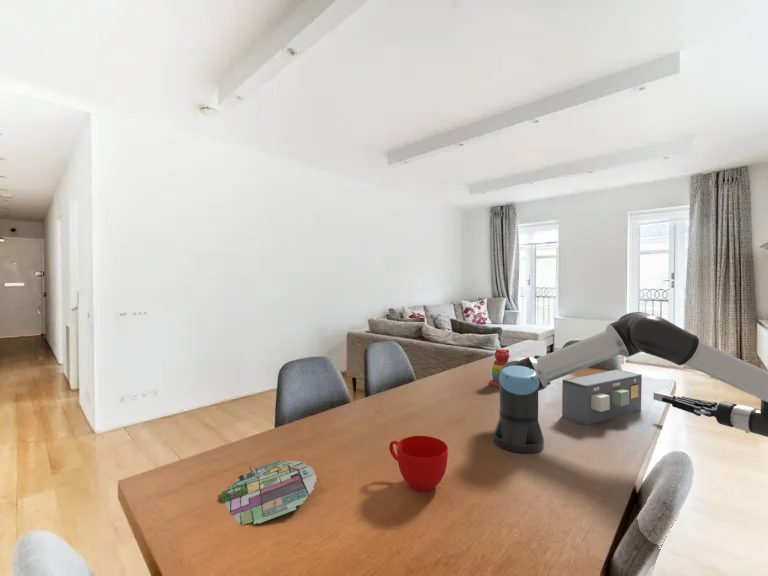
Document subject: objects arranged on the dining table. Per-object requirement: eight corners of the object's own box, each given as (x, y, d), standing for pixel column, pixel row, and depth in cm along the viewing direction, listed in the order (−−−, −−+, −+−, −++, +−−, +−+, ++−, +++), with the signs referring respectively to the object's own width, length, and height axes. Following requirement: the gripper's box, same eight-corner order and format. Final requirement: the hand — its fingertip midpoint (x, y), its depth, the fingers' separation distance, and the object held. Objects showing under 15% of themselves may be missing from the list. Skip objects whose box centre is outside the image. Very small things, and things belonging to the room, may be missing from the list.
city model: (200, 501, 93) (197, 478, 92) (284, 458, 110) (282, 438, 109) (245, 556, 76) (241, 528, 75) (338, 495, 92) (335, 471, 91)
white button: (609, 409, 135) (609, 395, 135) (600, 411, 133) (601, 397, 133) (593, 404, 140) (593, 391, 140) (584, 406, 138) (585, 393, 138)
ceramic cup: (404, 462, 108) (404, 427, 108) (457, 482, 97) (457, 444, 97) (374, 481, 98) (374, 443, 98) (430, 506, 87) (430, 463, 87)
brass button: (638, 396, 149) (638, 384, 149) (630, 398, 147) (630, 386, 147) (622, 392, 154) (622, 380, 154) (615, 394, 152) (615, 382, 152)
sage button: (629, 404, 141) (629, 390, 140) (621, 406, 138) (621, 392, 138) (613, 399, 146) (613, 386, 146) (605, 401, 144) (605, 388, 143)
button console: (641, 409, 150) (642, 374, 150) (587, 425, 135) (588, 386, 134) (615, 402, 159) (616, 369, 159) (562, 416, 144) (562, 379, 143)
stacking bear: (510, 382, 189) (510, 347, 189) (515, 388, 179) (515, 351, 179) (488, 382, 190) (488, 347, 190) (492, 388, 180) (492, 351, 180)
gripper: (725, 431, 118) (644, 408, 139) (744, 424, 124) (663, 402, 145) (726, 407, 117) (645, 388, 138) (745, 401, 124) (664, 383, 144)
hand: (654, 395), depth 141 cm, fingers closed
